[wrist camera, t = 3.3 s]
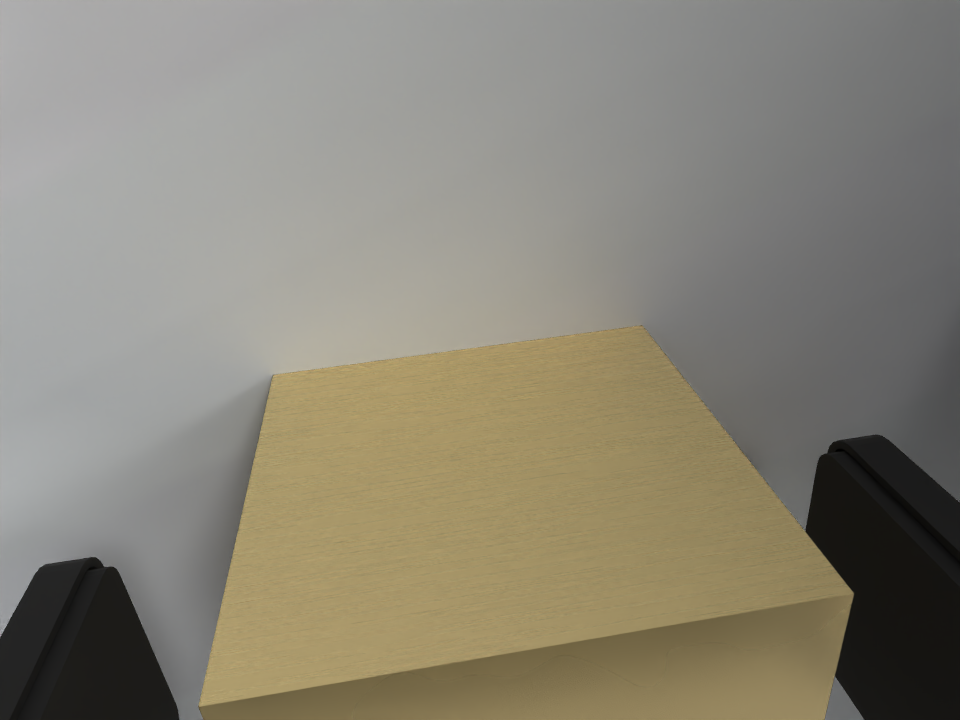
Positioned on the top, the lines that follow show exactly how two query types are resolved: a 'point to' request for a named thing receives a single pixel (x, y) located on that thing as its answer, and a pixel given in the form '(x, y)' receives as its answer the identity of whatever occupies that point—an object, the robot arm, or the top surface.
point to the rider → (517, 549)
